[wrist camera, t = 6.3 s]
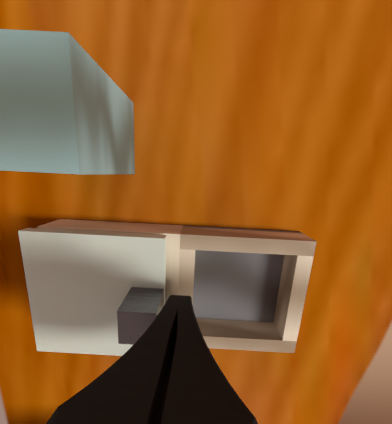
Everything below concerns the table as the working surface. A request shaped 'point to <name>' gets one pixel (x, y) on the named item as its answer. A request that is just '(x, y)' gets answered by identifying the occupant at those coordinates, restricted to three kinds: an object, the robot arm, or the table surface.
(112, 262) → the sliding cover
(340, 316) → the table surface
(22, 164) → the teal block
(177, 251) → the sliding lid box
